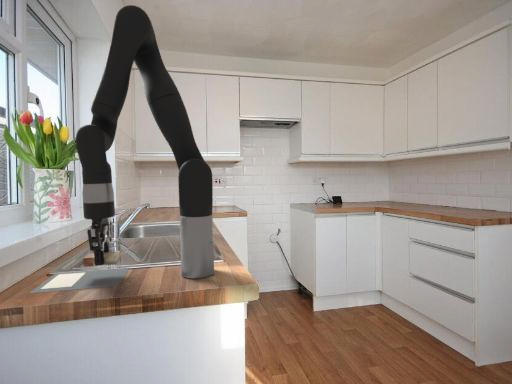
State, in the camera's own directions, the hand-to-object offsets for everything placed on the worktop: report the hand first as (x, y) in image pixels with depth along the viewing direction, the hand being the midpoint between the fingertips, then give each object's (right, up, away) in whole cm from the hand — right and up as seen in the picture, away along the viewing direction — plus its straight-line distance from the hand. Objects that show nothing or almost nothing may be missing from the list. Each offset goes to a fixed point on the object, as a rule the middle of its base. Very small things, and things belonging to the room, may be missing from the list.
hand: (102, 261), depth 81 cm
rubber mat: (-4, -5, -1) cm, 7 cm away
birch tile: (0, 0, 0) cm, 0 cm away
